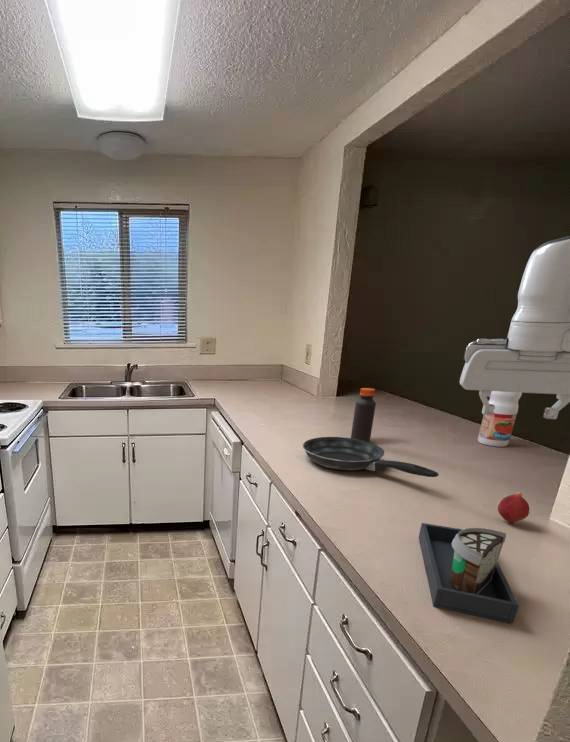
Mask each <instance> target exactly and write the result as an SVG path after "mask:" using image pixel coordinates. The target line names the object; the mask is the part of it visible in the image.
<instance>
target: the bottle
mask: <svg viewBox="0 0 570 742" xmlns="http://www.w3.org/2000/svg"><path fill="white" fill-rule="evenodd" d="M359 390H360V391H359V397H360V398H359V399H357V400H356V401H355V406H354V412H353V420H352V426H351V432H350V433H351V434H350V438H352V439H358V440H363V441H366V442H370V443H371V437H372V431H373V424H374V417H375V412H376V406H377V403H376V401H375V400H374V398H375V394H376V388H371V387H361V388H360V389H359Z"/></svg>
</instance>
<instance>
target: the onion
mask: <svg viewBox="0 0 570 742" xmlns="http://www.w3.org/2000/svg"><path fill="white" fill-rule="evenodd" d="M522 496H523V493H522V492H520V491H518V492H515V493H514V494H510V495H507V496H505V497H503V498H502V499H501V500H500V502H499V503H498V505H497V511H498V514H499V515H500V516H501V518H503V519H504V520H505V521H506V522H508V523H509V524H513V523H516V522H519V521H523V520H524V519H526V518H527V517H528V516H529V514H530V504H529V502H528V501H527V500H526V499H525V498H524V497H522Z"/></svg>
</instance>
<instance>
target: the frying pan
mask: <svg viewBox="0 0 570 742" xmlns="http://www.w3.org/2000/svg"><path fill="white" fill-rule="evenodd" d="M302 449H303V450H304V451H305V453H306V456H307V457H308V458H309V459H310V460H311V461H313V463H315V464H317V465H319V466H322V467H325V468H327V469H328V468H329V469H331V470H339V471H360V470H367V471H374V472H375V473H382V472H385V471H386V470H387V469H388V468H389V469H395V470H397V471H400V472H404V473H406V474H411V475H416V476H421V477H428V478H437V477H439V473H438V471H436V470H433V469H430V468H427V467H426V466H421V465H419V464H415V463H412V462H411V463H410V462H406V461H405V462H404V461H399V460H384V459H381V458H382V457H384V456H385V450H384V449H383V448H382V447H380V446H379V445H377V444H374V443H372V442H371V441H370V442H366V441H363V440H358V439H352V438H351V437H342V436H321V437H315V438H310V439H307V440H305V441H304V442H303V443H302ZM380 459H381V460H380Z"/></svg>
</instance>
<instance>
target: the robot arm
mask: <svg viewBox="0 0 570 742" xmlns="http://www.w3.org/2000/svg"><path fill="white" fill-rule="evenodd" d="M516 307H517V308H516V310H515V312H514V314H513V316H512V318H511V321H510V325H509V330H508V331H507V337H506V338H477V339H476V340H473V341H471V342H470V343H468V345H466V348H465V350H464V355H463V360H464V361H465V363H464V365H463V368H462V371H461V374H460V377H459V382H458V383H459V385H460V386H461V387H462V388H463V389H464V390H467V391H479V392H478V396H479V398H480V401H481V402H482V404H483V405H482V408H481V409H482V410H481V414H482V415H493V413H494V412H493V410H494V409H495V406H494V405H493V404H489V402H488V401H489V399H488V398H490V396H491V392H492V391H502V392H522V394H525V393H526V394H544V395H556V399H557V401H556V402H555V403H554V404H553V405H552V406H551V407H545V408H544V412H543V414H542V415H543V416H542V417H543V418H544V419H546V420H557V419H558V415H559V413H560V411H561V410H563V408H565V407H566V406H567V405H568V404H569V403H570V235H567V236H563V237H558V238H556V239H552V240H548V241H546V242H544V243H542V244H540V245H539V246H537V247H536V248H535V249H534V250H533V251H532V253H531V254H530V256H529V258H528V261H527V263H526V265H525V268H524V271H523V274H522V278H521V282H520V284H519V289H518V292H517V306H516Z"/></svg>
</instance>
